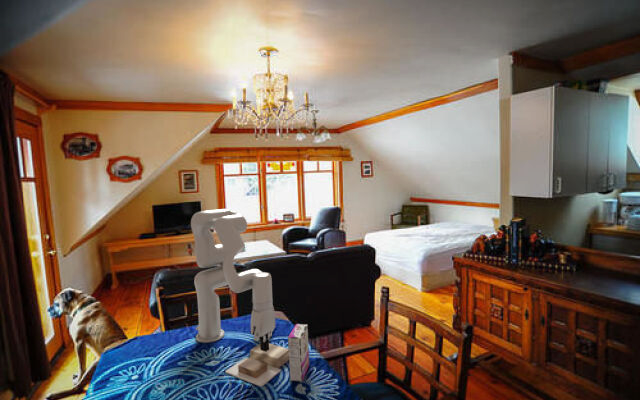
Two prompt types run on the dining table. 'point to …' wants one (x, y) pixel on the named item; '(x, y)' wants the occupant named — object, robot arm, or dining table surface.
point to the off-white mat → (259, 381)
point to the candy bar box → (298, 352)
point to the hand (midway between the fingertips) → (264, 349)
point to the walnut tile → (252, 368)
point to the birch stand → (270, 355)
